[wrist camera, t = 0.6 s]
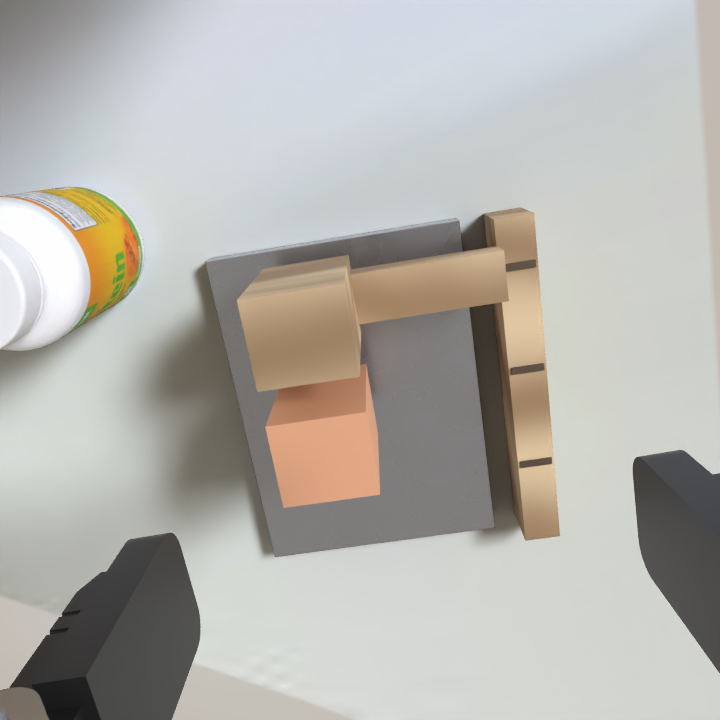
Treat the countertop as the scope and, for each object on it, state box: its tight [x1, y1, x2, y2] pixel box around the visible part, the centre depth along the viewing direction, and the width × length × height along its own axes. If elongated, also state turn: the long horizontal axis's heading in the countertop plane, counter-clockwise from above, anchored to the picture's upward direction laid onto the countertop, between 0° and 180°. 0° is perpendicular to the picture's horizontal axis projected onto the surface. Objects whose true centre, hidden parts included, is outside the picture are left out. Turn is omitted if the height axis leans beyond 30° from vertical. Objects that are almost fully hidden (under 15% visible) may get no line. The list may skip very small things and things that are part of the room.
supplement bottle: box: [0, 187, 145, 351], centre depth 25 cm, size 5×5×10 cm
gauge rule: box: [237, 208, 560, 540], centre depth 27 cm, size 15×11×8 cm
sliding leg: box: [265, 364, 380, 508], centre depth 26 cm, size 3×4×7 cm
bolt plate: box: [205, 218, 495, 557], centre depth 31 cm, size 15×11×1 cm
